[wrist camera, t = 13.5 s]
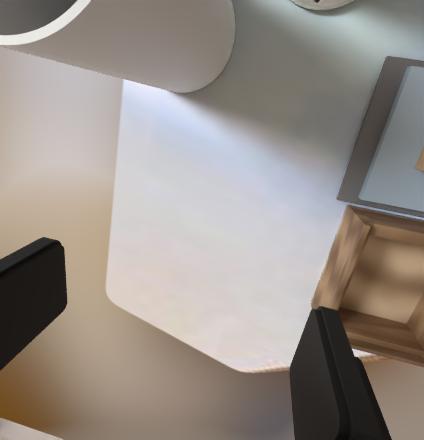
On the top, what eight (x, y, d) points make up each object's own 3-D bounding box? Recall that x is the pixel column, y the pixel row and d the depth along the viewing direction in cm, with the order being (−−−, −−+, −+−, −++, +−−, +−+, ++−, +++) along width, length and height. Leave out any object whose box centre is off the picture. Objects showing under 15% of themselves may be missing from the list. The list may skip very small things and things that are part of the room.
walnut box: (347, 204, 35) (365, 225, 28) (464, 228, 33) (513, 256, 27) (310, 303, 41) (319, 339, 34) (408, 328, 39) (437, 370, 33)
